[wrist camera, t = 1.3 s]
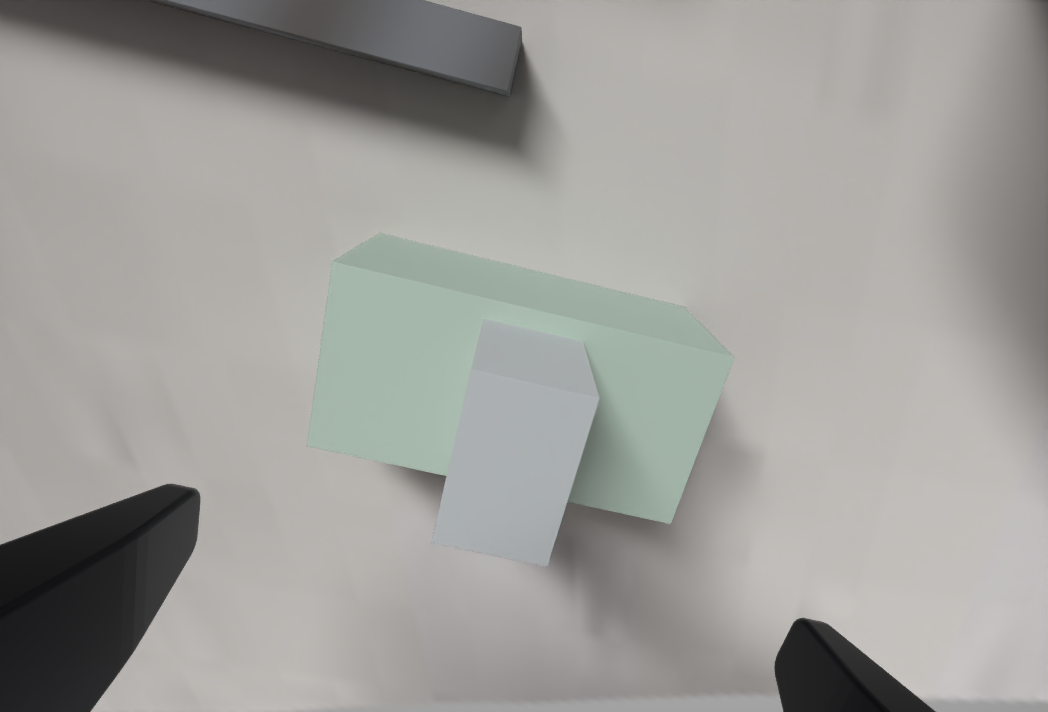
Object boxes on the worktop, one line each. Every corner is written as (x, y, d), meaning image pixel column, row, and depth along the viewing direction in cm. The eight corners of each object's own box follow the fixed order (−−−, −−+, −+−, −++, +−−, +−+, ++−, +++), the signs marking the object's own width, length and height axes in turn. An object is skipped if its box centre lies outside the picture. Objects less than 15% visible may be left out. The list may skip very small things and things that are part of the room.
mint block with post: (684, 306, 20) (794, 417, 12) (638, 439, 21) (706, 619, 13) (381, 232, 19) (272, 297, 11) (357, 376, 20) (248, 526, 12)
